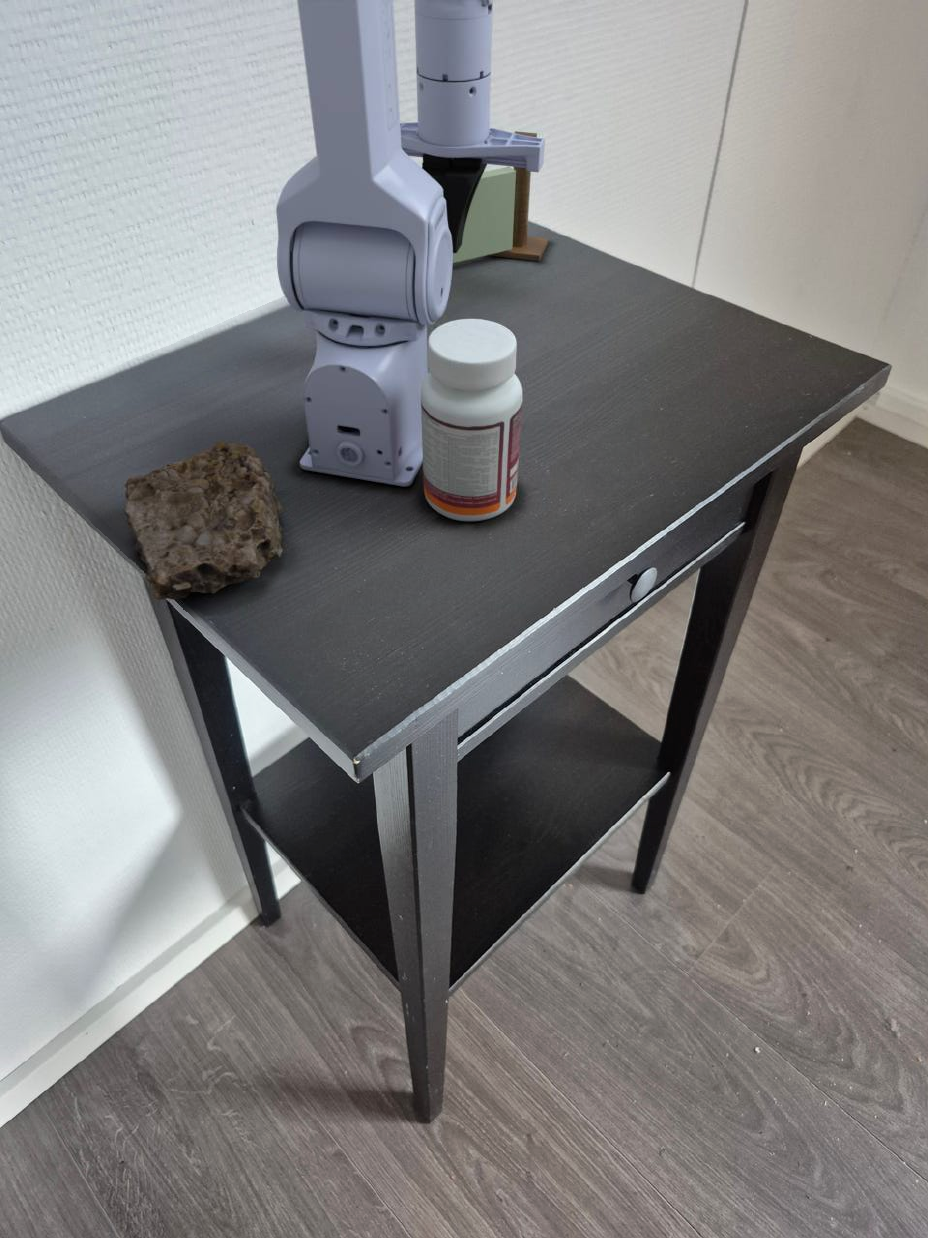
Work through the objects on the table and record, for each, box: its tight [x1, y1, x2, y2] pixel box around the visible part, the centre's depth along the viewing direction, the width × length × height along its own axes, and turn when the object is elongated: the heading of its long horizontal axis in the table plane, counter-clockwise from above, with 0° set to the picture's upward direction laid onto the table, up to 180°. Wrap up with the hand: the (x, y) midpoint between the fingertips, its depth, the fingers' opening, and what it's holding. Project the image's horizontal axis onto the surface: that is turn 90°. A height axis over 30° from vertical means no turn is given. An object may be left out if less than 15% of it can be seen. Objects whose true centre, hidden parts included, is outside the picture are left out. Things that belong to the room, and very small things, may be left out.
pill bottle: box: [421, 318, 524, 522], centre depth 55 cm, size 6×6×11 cm
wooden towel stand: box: [489, 130, 549, 262], centre depth 82 cm, size 4×5×10 cm
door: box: [453, 166, 516, 264], centre depth 79 cm, size 13×2×7 cm, turn 119°
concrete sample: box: [123, 440, 284, 600], centre depth 54 cm, size 12×10×5 cm
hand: (453, 248), depth 78 cm, fingers closed
